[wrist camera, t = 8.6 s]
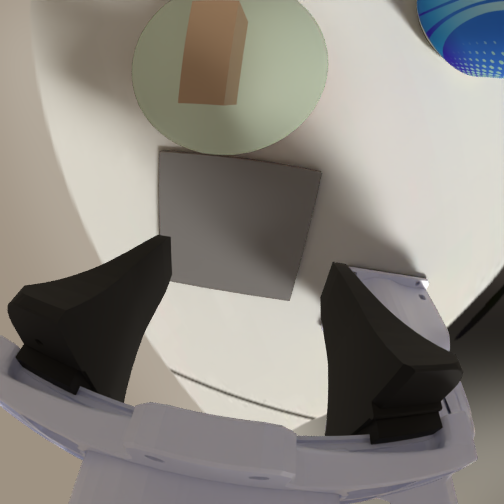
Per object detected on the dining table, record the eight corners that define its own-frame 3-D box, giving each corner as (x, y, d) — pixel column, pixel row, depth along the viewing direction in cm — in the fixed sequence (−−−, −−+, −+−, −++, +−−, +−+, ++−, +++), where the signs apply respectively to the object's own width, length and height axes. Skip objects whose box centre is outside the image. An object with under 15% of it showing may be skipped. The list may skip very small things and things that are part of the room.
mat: (320, 171, 19) (321, 173, 19) (289, 297, 25) (289, 300, 25) (162, 150, 19) (159, 151, 19) (164, 276, 26) (162, 279, 25)
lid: (336, -4, 9) (353, -31, 6) (309, 166, 15) (318, 188, 12) (149, -11, 9) (116, -31, 6) (131, 147, 15) (94, 164, 12)
